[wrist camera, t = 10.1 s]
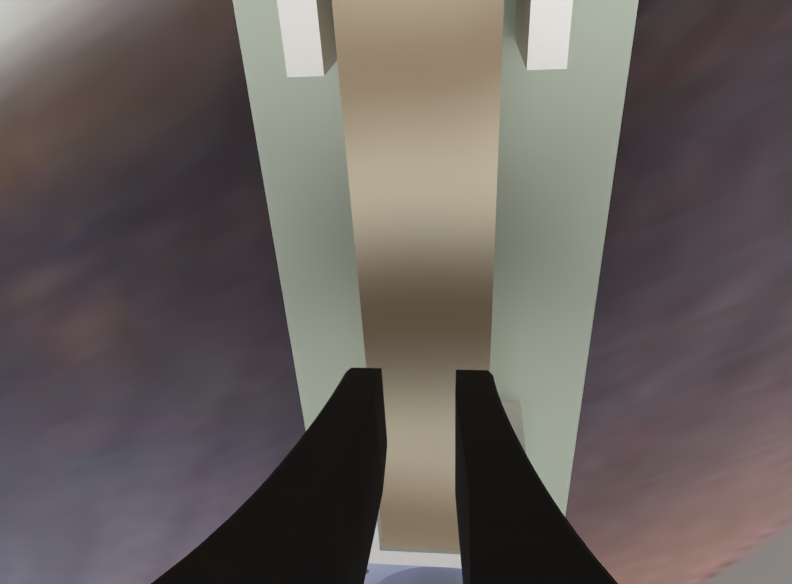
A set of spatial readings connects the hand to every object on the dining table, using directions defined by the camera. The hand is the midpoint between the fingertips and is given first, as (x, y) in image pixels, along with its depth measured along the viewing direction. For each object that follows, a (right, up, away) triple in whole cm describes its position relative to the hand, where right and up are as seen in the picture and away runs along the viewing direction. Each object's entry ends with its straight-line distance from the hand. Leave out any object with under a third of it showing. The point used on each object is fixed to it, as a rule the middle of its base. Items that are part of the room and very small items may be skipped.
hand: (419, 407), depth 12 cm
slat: (+1, +4, +6) cm, 8 cm away
